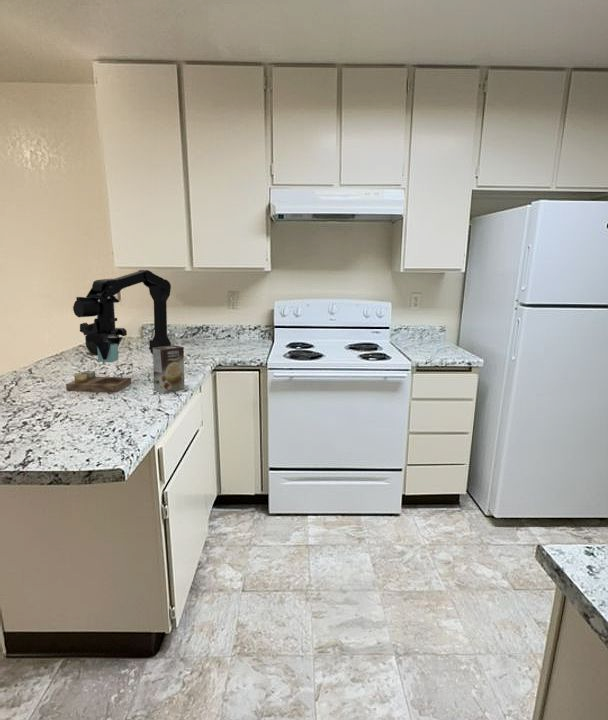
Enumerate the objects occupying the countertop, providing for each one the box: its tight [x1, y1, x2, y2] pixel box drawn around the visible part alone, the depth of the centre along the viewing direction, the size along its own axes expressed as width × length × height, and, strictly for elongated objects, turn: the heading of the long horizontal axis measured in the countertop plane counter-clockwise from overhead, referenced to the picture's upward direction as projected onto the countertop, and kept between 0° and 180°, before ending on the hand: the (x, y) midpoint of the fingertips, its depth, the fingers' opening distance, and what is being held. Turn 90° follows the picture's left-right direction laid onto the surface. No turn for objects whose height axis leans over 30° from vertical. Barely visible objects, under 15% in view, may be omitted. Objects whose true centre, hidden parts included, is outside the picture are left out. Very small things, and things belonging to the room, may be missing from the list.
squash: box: [85, 341, 98, 354], centre depth 211 cm, size 14×15×15 cm
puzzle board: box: [65, 370, 132, 393], centre depth 150 cm, size 18×12×5 cm, turn 89°
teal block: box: [97, 344, 119, 363], centre depth 148 cm, size 5×5×6 cm
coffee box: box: [152, 344, 185, 394], centre depth 149 cm, size 9×6×16 cm
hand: (108, 358), depth 148 cm, fingers closed on teal block, 5 cm apart
